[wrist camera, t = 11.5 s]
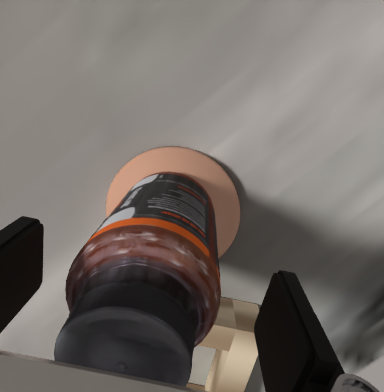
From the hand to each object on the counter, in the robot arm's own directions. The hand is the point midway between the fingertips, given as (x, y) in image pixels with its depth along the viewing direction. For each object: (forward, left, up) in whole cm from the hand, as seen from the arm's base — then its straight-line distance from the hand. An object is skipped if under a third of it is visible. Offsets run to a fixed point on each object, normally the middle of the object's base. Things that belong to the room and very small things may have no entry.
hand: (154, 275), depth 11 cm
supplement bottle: (0, 0, -8) cm, 8 cm away
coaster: (+1, 0, -9) cm, 8 cm away
